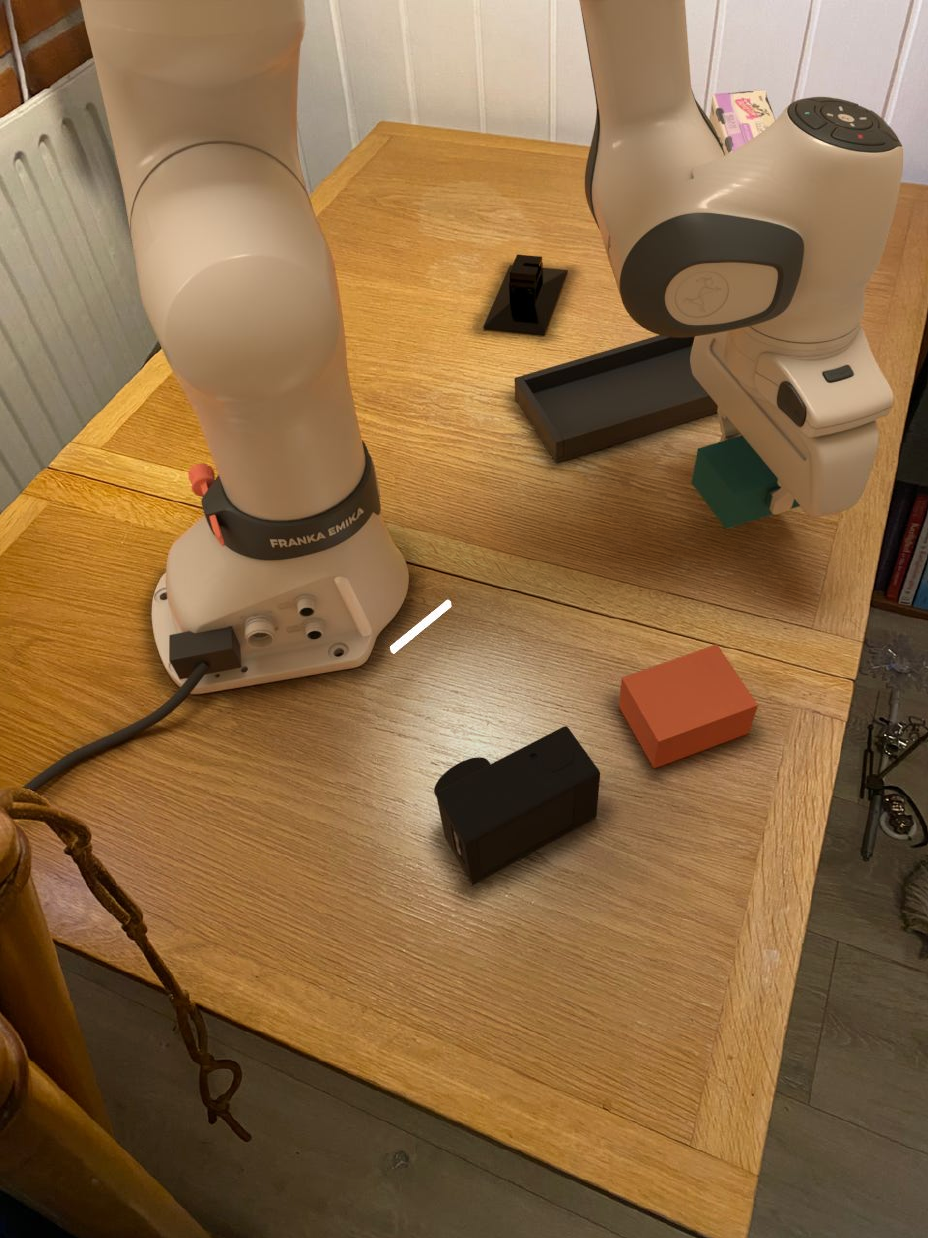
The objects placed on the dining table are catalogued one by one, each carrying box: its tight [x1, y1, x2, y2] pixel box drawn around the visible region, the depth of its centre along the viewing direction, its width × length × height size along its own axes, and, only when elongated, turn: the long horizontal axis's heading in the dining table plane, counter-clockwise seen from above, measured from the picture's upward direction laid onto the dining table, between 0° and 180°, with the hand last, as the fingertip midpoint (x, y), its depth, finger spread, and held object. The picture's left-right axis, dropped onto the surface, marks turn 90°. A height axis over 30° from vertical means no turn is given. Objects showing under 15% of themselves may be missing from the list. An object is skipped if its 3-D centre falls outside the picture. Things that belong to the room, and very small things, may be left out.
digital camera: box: [433, 725, 601, 886], centre depth 67 cm, size 10×5×7 cm, turn 118°
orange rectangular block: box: [618, 643, 759, 770], centre depth 72 cm, size 8×6×4 cm
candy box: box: [709, 89, 777, 155], centre depth 103 cm, size 14×6×16 cm, turn 178°
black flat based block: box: [481, 254, 569, 337], centre depth 107 cm, size 12×7×5 cm, turn 164°
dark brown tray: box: [513, 334, 718, 464], centre depth 96 cm, size 21×11×3 cm, turn 110°
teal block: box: [690, 436, 801, 530], centre depth 80 cm, size 8×6×4 cm
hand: (753, 478), depth 81 cm, fingers closed on teal block, 6 cm apart
